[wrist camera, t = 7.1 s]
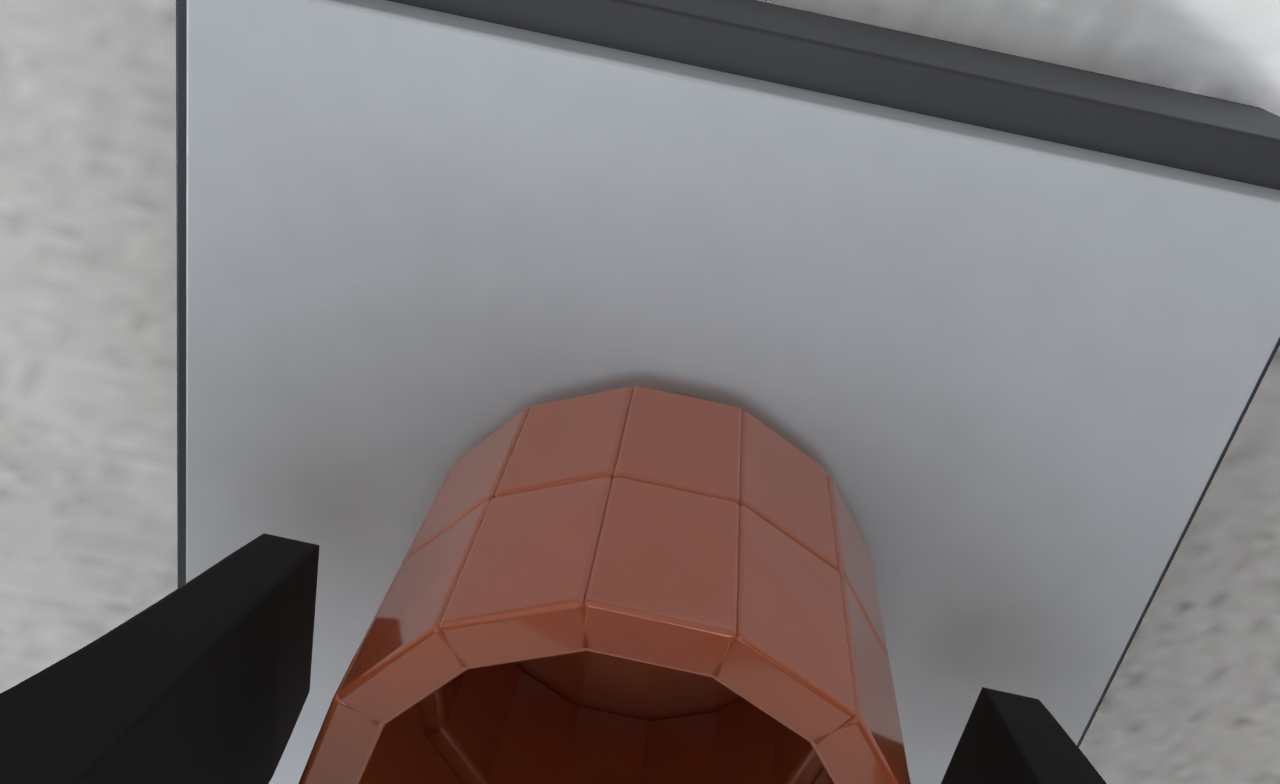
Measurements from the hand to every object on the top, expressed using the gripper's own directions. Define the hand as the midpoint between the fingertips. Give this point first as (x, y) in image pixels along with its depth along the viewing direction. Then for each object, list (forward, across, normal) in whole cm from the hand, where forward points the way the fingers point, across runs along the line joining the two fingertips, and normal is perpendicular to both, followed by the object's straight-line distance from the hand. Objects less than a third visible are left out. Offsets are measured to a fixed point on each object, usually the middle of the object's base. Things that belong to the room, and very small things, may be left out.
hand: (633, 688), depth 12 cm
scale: (+6, 0, 0) cm, 6 cm away
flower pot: (+2, 0, 0) cm, 2 cm away
